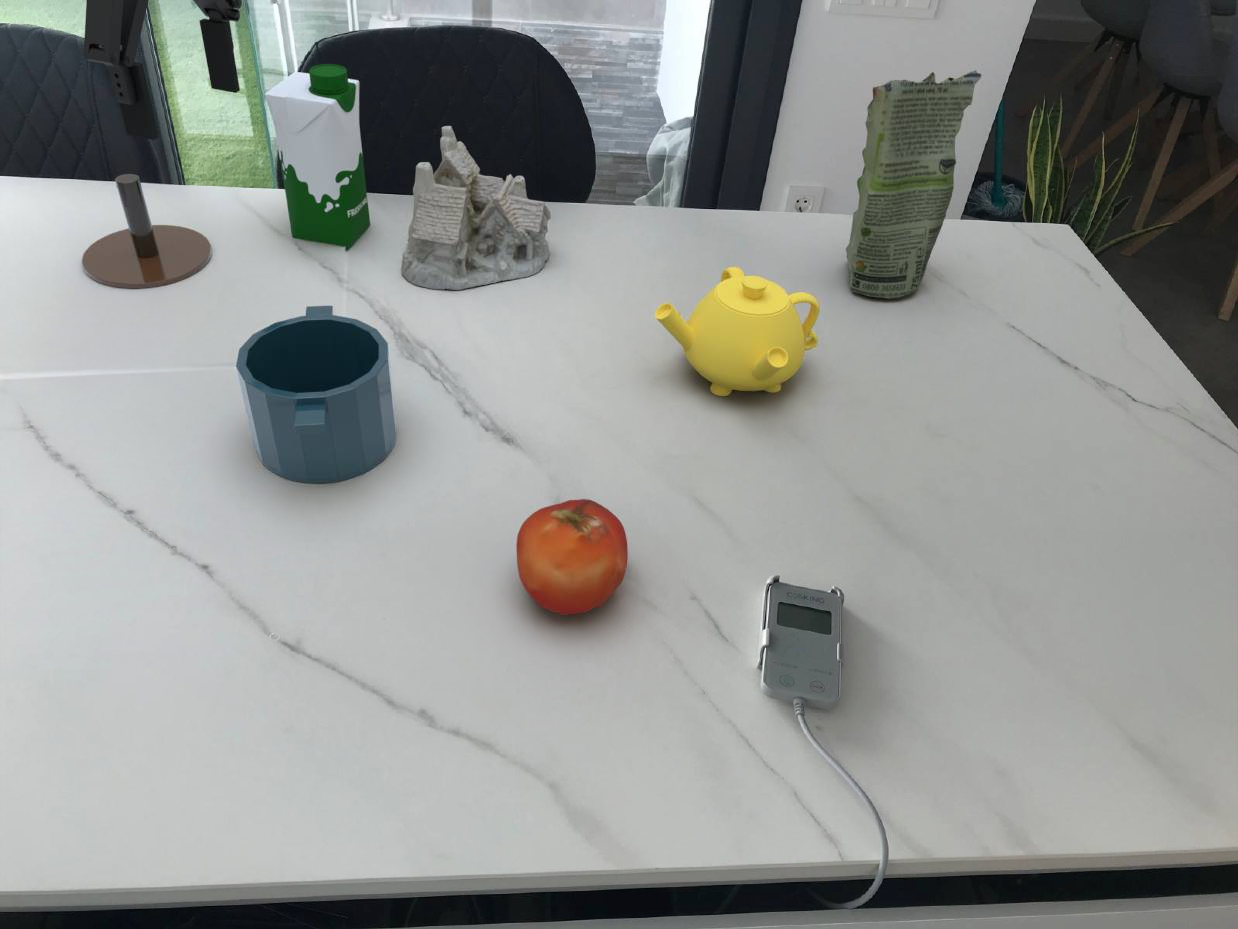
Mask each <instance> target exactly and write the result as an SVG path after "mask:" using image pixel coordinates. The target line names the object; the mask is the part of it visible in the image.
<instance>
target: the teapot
mask: <svg viewBox="0 0 1238 929" xmlns="http://www.w3.org/2000/svg"><path fill="white" fill-rule="evenodd" d="M801 303H802V304H803V303H805V304H809V305H810V307H809V311H808V313H807V316H806V318H805V319H804V321H803V323H802V321H801V318H800V316H799V313H798V311H797V308H796V307H795V305H797V304H801ZM819 314H820V303H819V301H818V299H817V298H815V296H813V295H812V294H810V293H808V292H804V291H798V292H794V293H790V294H788V293H787V291H786V290H785V289H784V288H783V287H782V286H780V285H778V284H777V283H775V282H773V281H771V280H769V279H766V278H763V277H762V276H759V275H745V273H744V271H743V270H742V269H741V268H740V267H738V266H728V267H726V268H724V269H723V271H722V273H721V276H720V282H719V283H717V284H716V285H715V286H714V287H713V288H712V289H711V290H710V291H709V292H708V293H707V294H706V295H705V296H704V297H703V298H702V299H701V300H700V301H699V302H698V304H697V305H696V306H695V308H694V309H693V311H692V312H691V314H690V315H689V318H688V320H687V321H686V320H685V319H684V318H683V316H682V315H681V314H680V313H679V311H678V310H677V309H676V307H675V306H674V305H673V304H672V303H671V302H664V303H662V304H660V305H659V306H658V307H657V308H656V309H655V312H654V317H655V319H656V320H657V321H658V322H659V323H660V324H661V325H662V327H664V328H665V330H666V331H667V332H668V333H669V334H670V335H671V336H672V337H673V338H674V340H676V341H677V342H678V343H679V345H681V347H682V350H683V352H684V356H685V357H686V359H687V361H688V362H689V363H690V365H691V366H692V367H693V369H694V370H696V372H697V373H698V374H699V375H701V376H702V377H703V378H704V379H705V380H707V381H709V382H711V385H710V387H709V390H710V392H711V393H712V394H714V395H716V396H718V397H727V396H729V395H730V394H732V392H733V390H734V391H740V392H741V391H742V392H759V391H764V392H768V393H778V392H780V391H781V389H782V386H781V384H782V383H785V382H786V381H787V380H789V379H790V378H792V377H793V376H794V375H796V373H797V372H798V371H799V369H800V368H801V366H802V365H803V361H804V357H805V351H810V350H813V349H814V348H816V346H817V344H818V343H819V342H818V339H819V338H818V334H817V333H816V332H815V331H814V330H812V329H813V328H814V326H815V325H816V323H817V320H818V317H819Z"/></svg>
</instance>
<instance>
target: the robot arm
mask: <svg viewBox="0 0 1238 929" xmlns="http://www.w3.org/2000/svg"><path fill="white" fill-rule="evenodd" d="M192 1H193V2H194V4H195V5H196V6H197V7H198V9H199V10H200V11H201V12H202V14H203V15H204V16H205V17H207V18H201V19H200V20H199V26H200V32H201V38H202V44H203V49H204V54H205V59H206V60H205V61H206V64H207V71H208V75H209V76H208V77H209V81H210V87H211V89H212V90H218V91H223V92H228V93H235V94H237V93H238V92H240V91H241V88H240V82H239V76H238V71H237V70H238V68H237V65H236V64H237V63H236V58H235V52H234V51H235V50H234V48H235V46H234V39H233V33H232V27H231V22H239V21H240V18H241V13H240V10H239V9H241V8H242V4H243V2H242V0H192ZM85 2H86V3H85V5H86V6H85V19H84V20H85V23H84V38H83V41H84V42H83V56H84V58H85V59H86V60H87V61H89V62H94V63H99V64H103V65H105V66H106V67H107V70H108V73H109V79H110V83H111V87H112V91H113V94H114V98H115V100H116V102H117V103H119V107H120V112H121V116H122V120H123V124H124V128H125V132H126V135H127V136H130V137H131V136H132V137H135V138H141V139H146V140H152V141H155V140H157V139H158V138H160V136H159V132H158V128H157V123H156V119H155V118H156V117H155V114H154V109H153V108H154V107H153V105H152V100H151V95H150V91H149V87H148V81H147V78H146V77H147V76H146V72H145V69H144V64H143V63H142V62H136V56H137V52H138V48H139V43H140V39H141V35H142V31H143V26H144V21H145V17H146V13H147V9H148V4H149V0H86V1H85Z"/></svg>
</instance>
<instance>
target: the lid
mask: <svg viewBox="0 0 1238 929" xmlns="http://www.w3.org/2000/svg"><path fill="white" fill-rule="evenodd" d="M114 181H115V185H116V189H117V193H118V195H119V199H120V203H121V207H122V210H123V213H124V217H125V219H126V224H127V228H125V229H122V230H117V231H115V232H111V233H110V234H107V235H105V236H103V237H100V238H99V239H97V240H96V241H95V242H93V243H92V244H90V245H89V246H88V247H87V248H86V250H85V251H84V253H83V255H82V258H81V264H82V268H83V271H84V272H85V274H86V275H87V276H88V277H89V278H90V279H92V280H93V281H95V282H97V283H99V284H102V285H105V286H110V287H114V288H121V289H147V288H149V289H150V288H156V287H162V286H165V285H169V284H173V283H177V282H179V281H181V280H185V279H187V278H189V277H191V276H193V275H195V274H197V273H198V272H200V271H201V270H202V269H204V268H205V266H207V264H208V263H209V262H210V260H211V258H212V254H213V251H212V245H211V242H210V240H209V239H208V238H207V237H206V236H205V235H204V234H202V233H200V232H199V231H196V230H194V229H192V228H188V227H184V226H179V225H171V224H170V225H169V224H152V221H151V217H150V213H149V210H148V206H147V205H148V204H147V202H146V198H145V194H144V190H143V186H142V183H141V180H140V177H139V175H137V174H135V173H124V174H120V175H117V176H116V178H115V179H114Z"/></svg>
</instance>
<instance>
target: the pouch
mask: <svg viewBox="0 0 1238 929" xmlns="http://www.w3.org/2000/svg"><path fill="white" fill-rule="evenodd" d="M982 75H983V74H982V73H980V72H977V69H975V70H972V71H969V72H967V73H965V74H963V75H961V76H959V77H957V78H954V77H947V78H946V79H944V80H943V81H940V82H939V83H938V82H936V74H935V72H934V71H932V72H931V73H930V74H929V75H928V76H927V77H925V78H924V79H923V80H921V81H918V82H917V81H914V80H908V79H902V80H900V79H893V80H889V81H888V82H886V83H883V84H881V85H877V86H873V87H872V100H871V101H870V102H869V104H868V105H867V117H866V121H865V127H866V142H865V147H864V148H863V149H862V153H861V155H862V159H863V164H864V166H863V170H862V174H861V176H859V177H858V178H857V180H856V186H857V190H858V196H859V197H858V208H857V209H856V210H855V212H853V214H852V223H851V230H850V236H849V242H848V244H847V246H846V247H845V252H846V259H847V268H848V269H847V270H848V273H849V281H850V282H849V286H850V288H851V291H852V292H853V293H857V294H860V295H863V296H866V297H870V298H881V299H888V300H890V299H899V298H902V297H905V296H908V295H911V294H913V293H915V292H916V291H918V289H919V287H920V284H921V282H922V280H923V278H924V277H925V273H926V269H927V266H928V263H929V261H930V258H931V254H932V252H933V249H934V247H935V246H936V245H935V244H936V243H937V240H938V237H939V235H940V233H941V230H942V227H943V225H944V221H945V219H946V217H947V211H948V209H949V207H950V204H951V200H952V197H953V191H954V188H955V186H954V185H955V184H954V180H955V178H954V177H955V176H954V174H955V168H956V164H957V159H956V158H957V157H956V136H957V135H958V134H959V132H960V130H961V128H962V127H961V126H962V121H963V118H964V113H965V110H966V109H967V108H968V107H969V106H971V105H972V103H973V97H974V91H975V86H976V84H977V83H978V82H979V81H980V80H981V79H982Z"/></svg>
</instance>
